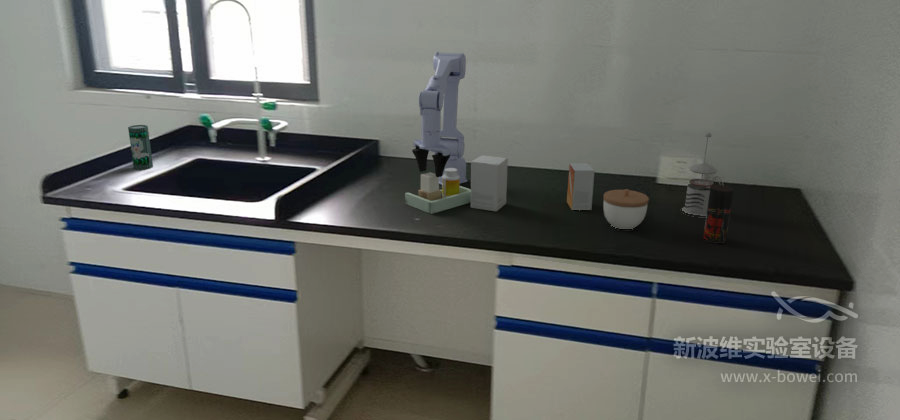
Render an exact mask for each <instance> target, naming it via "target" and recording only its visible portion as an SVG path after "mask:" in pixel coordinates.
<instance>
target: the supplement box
mask: <svg viewBox="0 0 900 420" xmlns="http://www.w3.org/2000/svg"><path fill="white" fill-rule="evenodd" d="M508 160H509V158H506V157H500V156H499V157H497V156H490V155H485V154H484V155H483V154H482V155H480V156H478V157H476V158H475V159H473V160H471V162H470V189H471V203H470V208H471V209H477V210H478V209H479V210H485V211H491V212H498V211H499V210H500V209H502V208H503V207H504V206H505V205H507V191H508V190H507V189H508V188H507V185H508Z"/></svg>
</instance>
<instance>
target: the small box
mask: <svg viewBox="0 0 900 420" xmlns="http://www.w3.org/2000/svg"><path fill="white" fill-rule="evenodd" d="M595 172H596V171H595V169H594V168H593V167H592V165H590V163H585V162H584V163H582V162H581V163H569V167H568V179H567V181H568V182H567V193H566V194H567V195H566V203H567V204H568V206H569V207H570V209H571V211H572V210H579V212H581V211H580V210H591V211H592V206H593V194H594V182H595Z"/></svg>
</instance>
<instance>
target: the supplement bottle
mask: <svg viewBox="0 0 900 420" xmlns="http://www.w3.org/2000/svg"><path fill="white" fill-rule="evenodd" d="M460 186H461V184H460V177H459V175H457V169H455V168H446V169H445V174H444V175H443V176H442V185H441V190H442V195H441V198H445V197H449V196H452V195H456V194H459V187H460Z"/></svg>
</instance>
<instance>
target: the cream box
mask: <svg viewBox="0 0 900 420" xmlns="http://www.w3.org/2000/svg"><path fill="white" fill-rule="evenodd" d="M420 190H421V191H424V192H427V193H432V192H436V191H439V190H440V184H439V177H436V175H435V173H434V172H431V171H429V172H426V173H422V174H420Z"/></svg>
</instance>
